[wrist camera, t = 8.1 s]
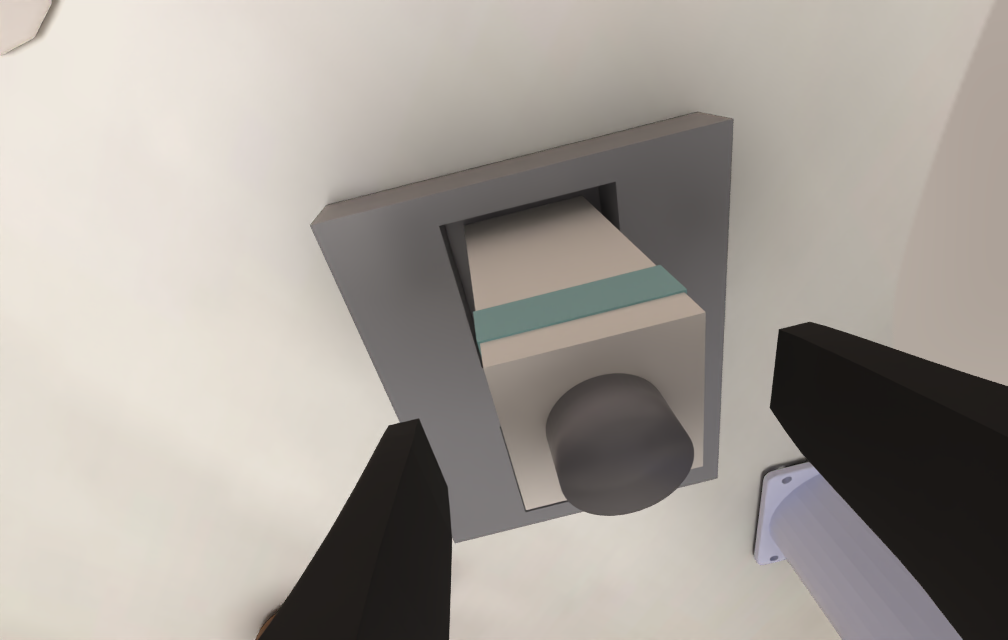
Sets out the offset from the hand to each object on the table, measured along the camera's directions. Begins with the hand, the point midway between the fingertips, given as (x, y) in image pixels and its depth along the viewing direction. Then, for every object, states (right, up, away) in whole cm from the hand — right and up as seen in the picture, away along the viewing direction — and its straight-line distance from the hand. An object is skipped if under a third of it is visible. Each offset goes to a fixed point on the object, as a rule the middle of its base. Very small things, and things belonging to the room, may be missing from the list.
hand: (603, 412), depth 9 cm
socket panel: (0, +1, +9) cm, 9 cm away
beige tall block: (-1, +4, +7) cm, 8 cm away
